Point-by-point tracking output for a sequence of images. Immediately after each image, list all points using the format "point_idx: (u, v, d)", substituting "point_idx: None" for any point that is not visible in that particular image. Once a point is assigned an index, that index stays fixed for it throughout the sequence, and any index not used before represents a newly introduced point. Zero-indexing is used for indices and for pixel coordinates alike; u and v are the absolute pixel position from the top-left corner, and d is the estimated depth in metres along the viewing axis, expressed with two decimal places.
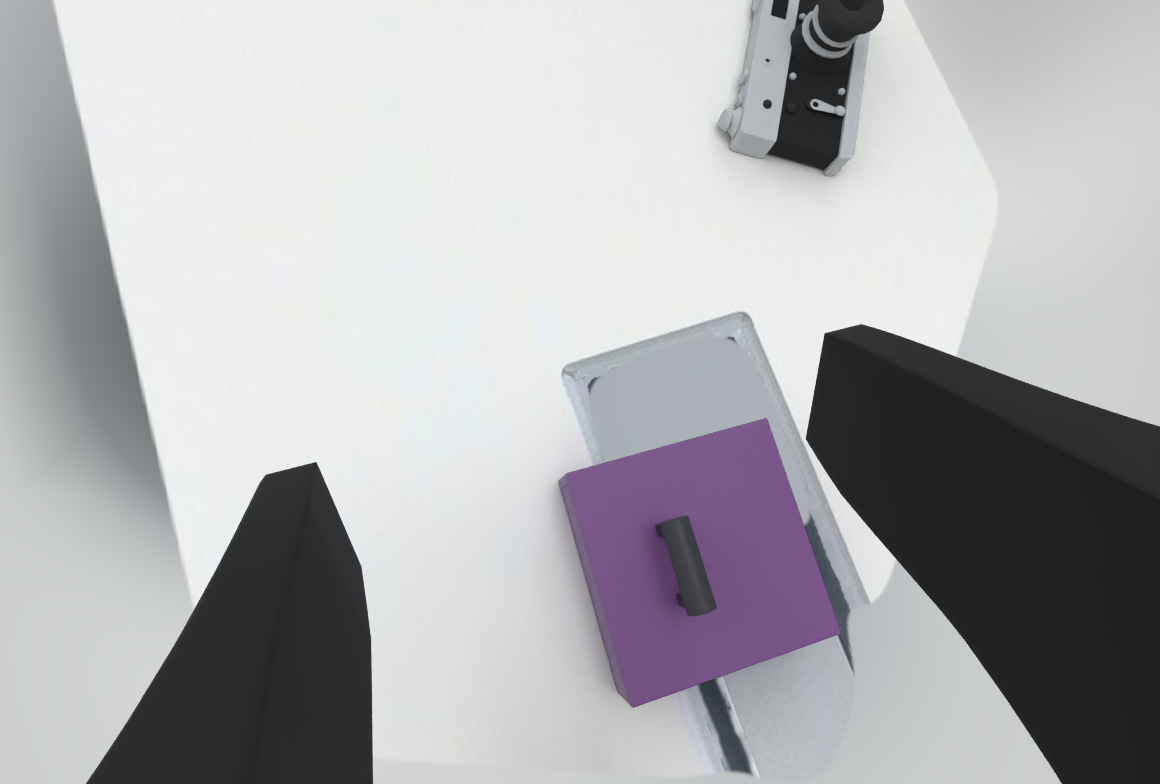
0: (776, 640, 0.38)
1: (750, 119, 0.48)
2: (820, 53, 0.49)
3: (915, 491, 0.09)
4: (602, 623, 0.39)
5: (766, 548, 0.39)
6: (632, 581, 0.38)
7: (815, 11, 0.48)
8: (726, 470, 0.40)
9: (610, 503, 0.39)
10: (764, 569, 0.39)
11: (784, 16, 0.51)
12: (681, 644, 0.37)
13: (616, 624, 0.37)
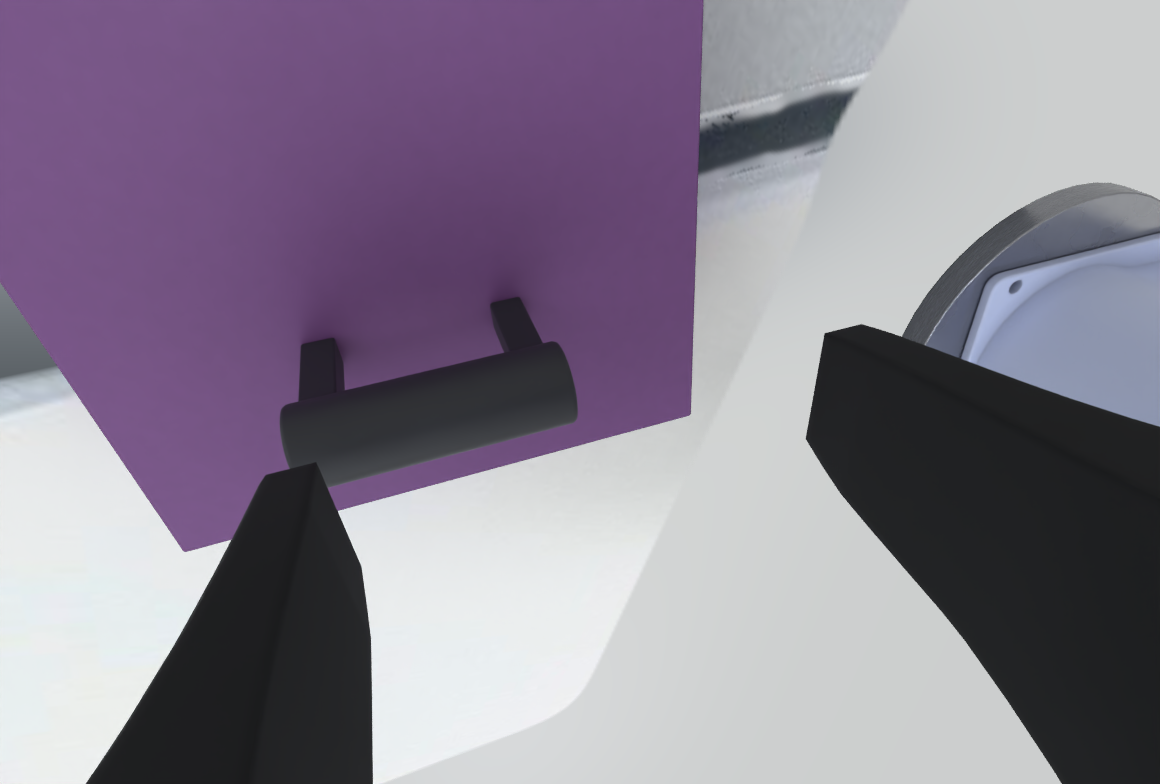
0: (663, 63, 0.13)
1: None
2: None
3: (915, 491, 0.09)
4: None
5: (385, 30, 0.11)
6: None
7: None
8: (82, 134, 0.11)
9: (255, 467, 0.15)
10: (456, 55, 0.12)
11: None
12: (606, 321, 0.16)
13: (537, 445, 0.17)
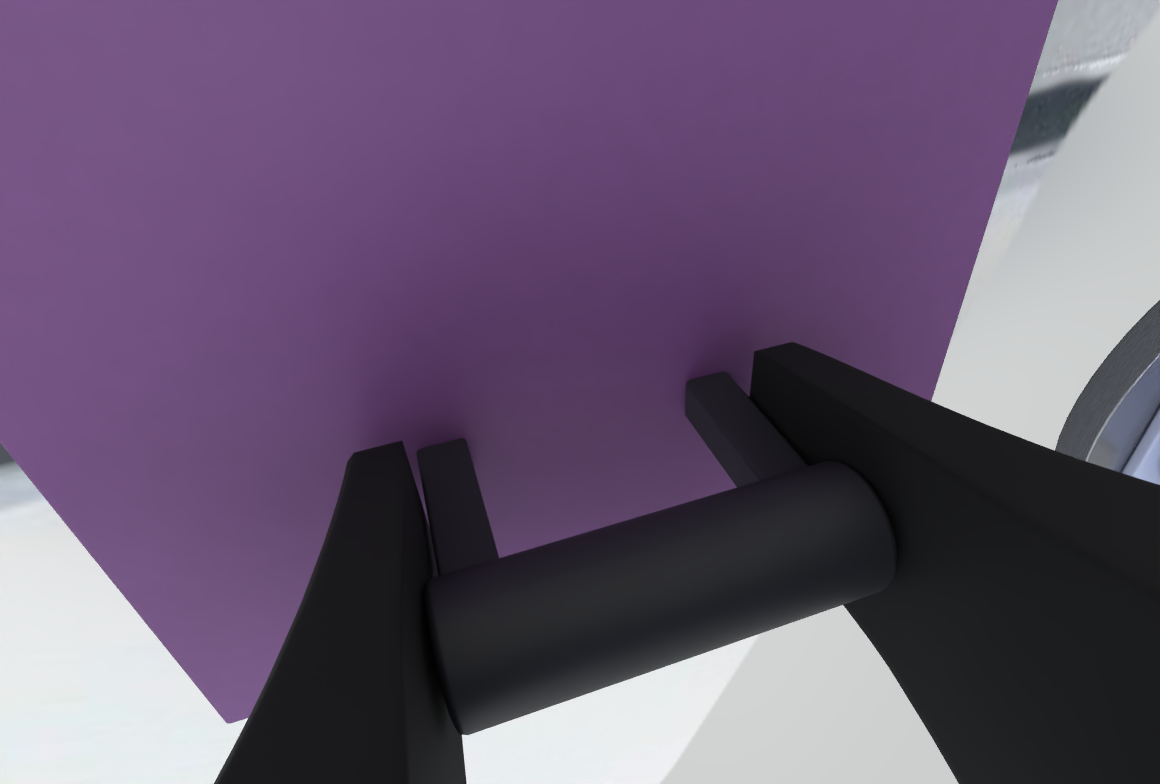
0: (1001, 23, 0.08)
1: None
2: None
3: None
4: None
5: None
6: None
7: None
8: (92, 130, 0.06)
9: None
10: (713, 1, 0.07)
11: None
12: None
13: None
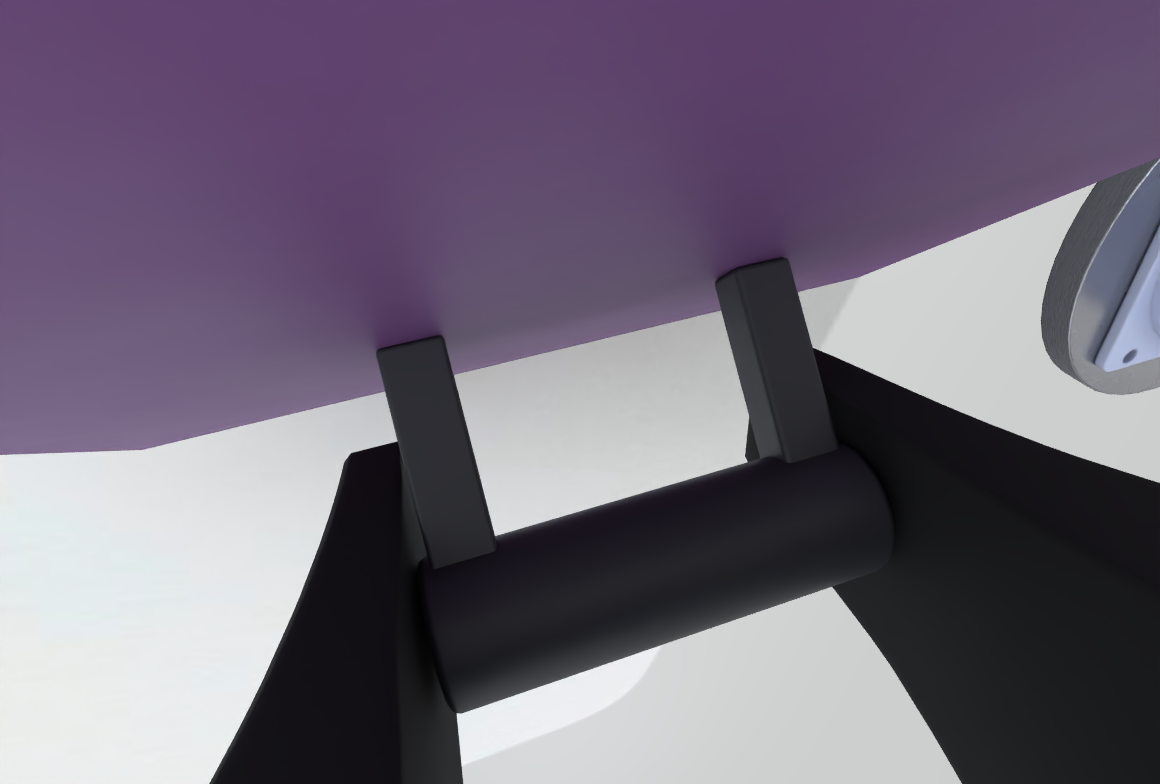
0: None
1: None
2: None
3: None
4: None
5: None
6: (572, 334, 0.10)
7: None
8: None
9: (258, 408, 0.09)
10: None
11: None
12: (873, 249, 0.09)
13: (660, 323, 0.12)
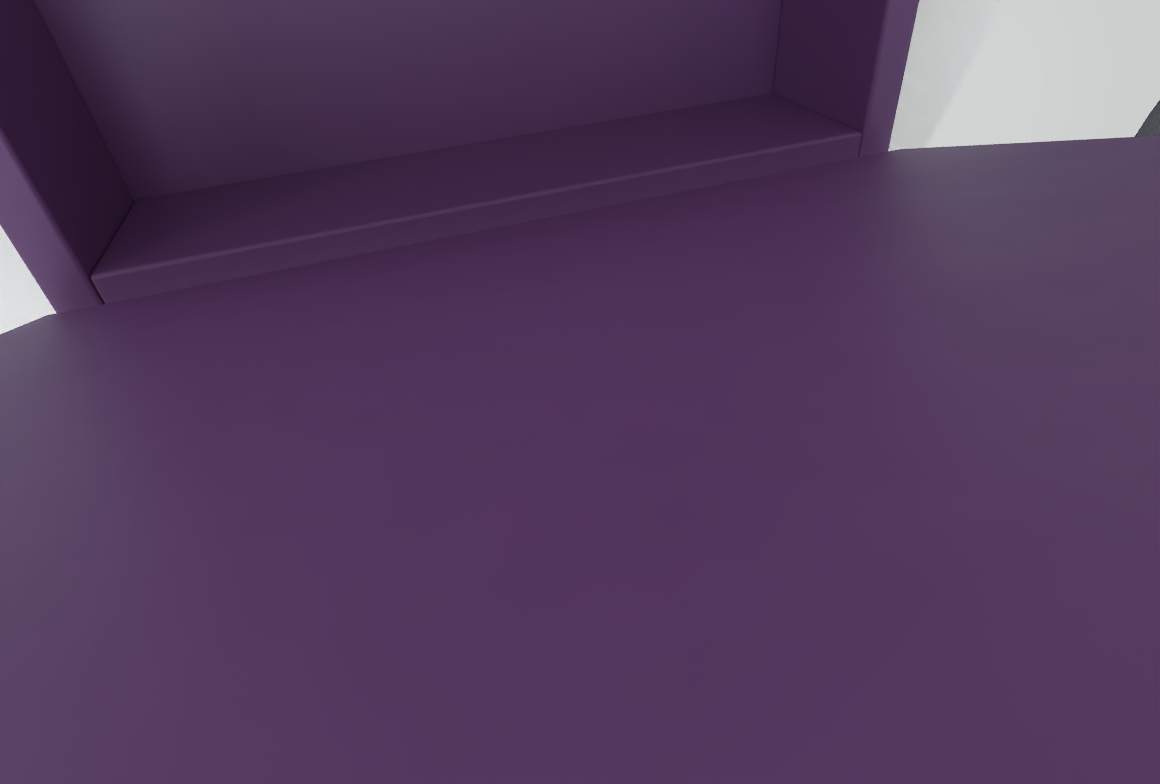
0: None
1: None
2: None
3: None
4: None
5: None
6: None
7: None
8: None
9: None
10: None
11: None
12: None
13: None
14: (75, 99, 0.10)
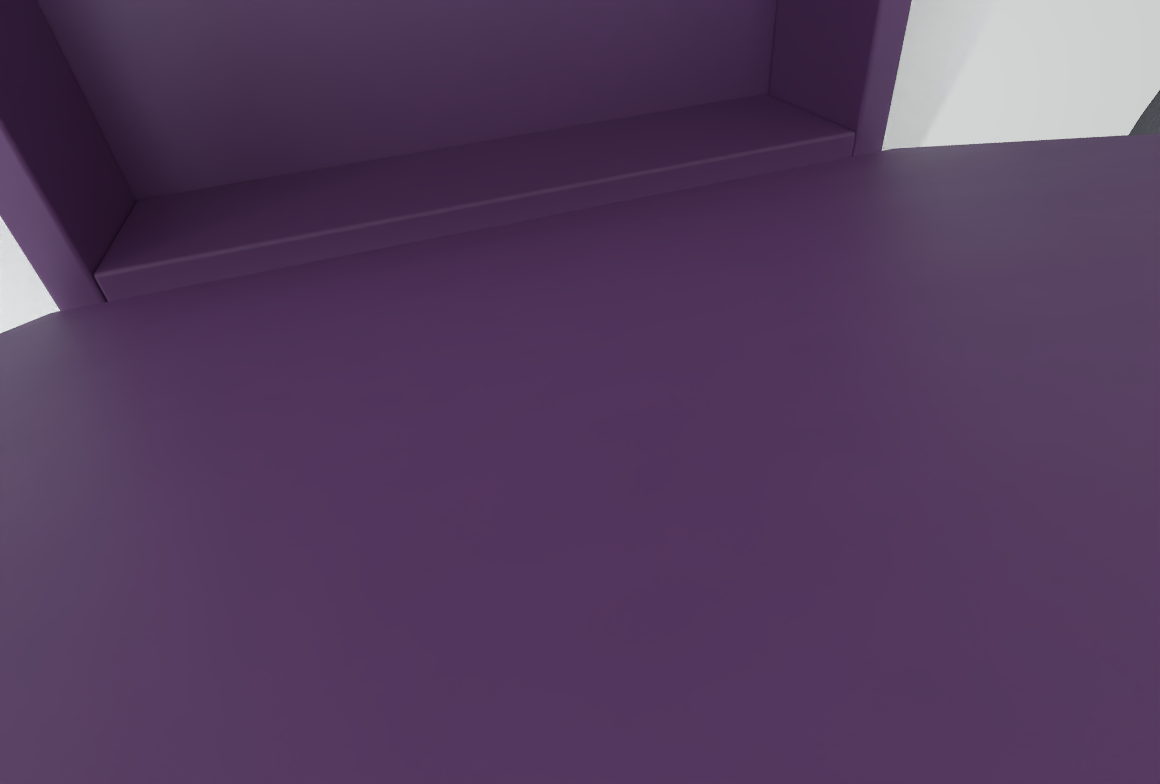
0: None
1: None
2: None
3: None
4: None
5: None
6: None
7: None
8: None
9: None
10: None
11: None
12: None
13: None
14: (78, 100, 0.10)
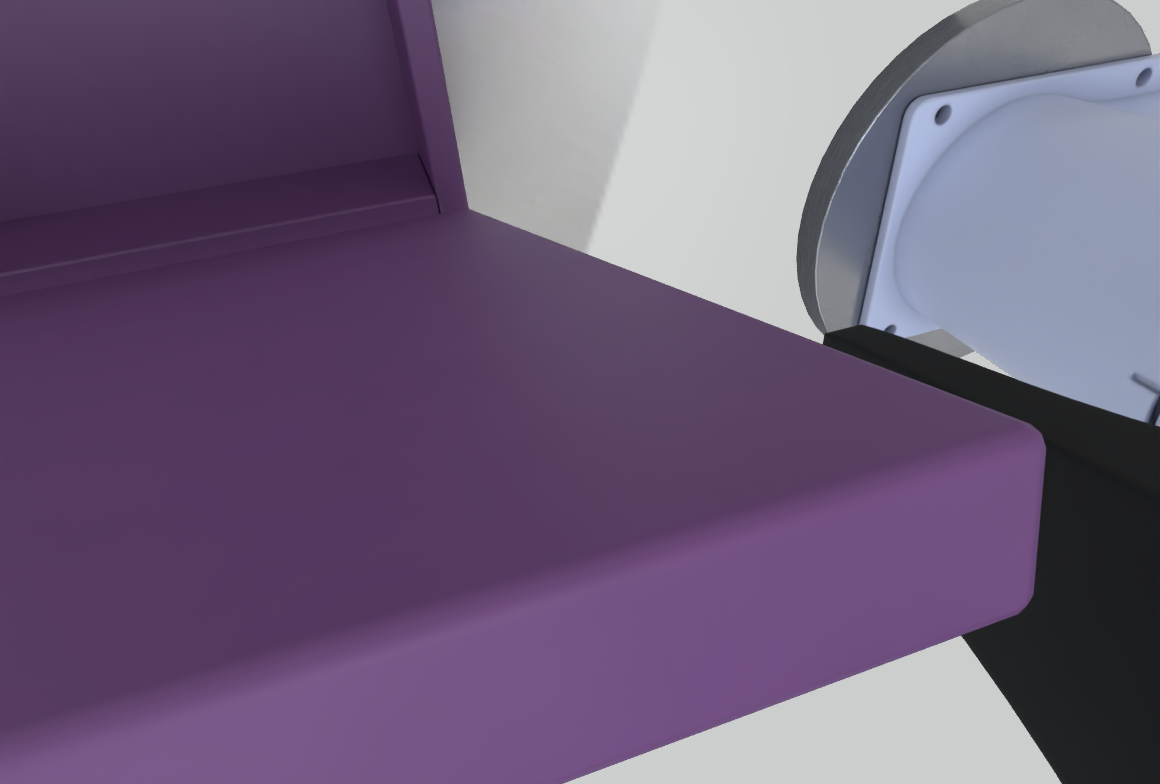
0: None
1: None
2: None
3: None
4: None
5: None
6: None
7: None
8: None
9: None
10: None
11: None
12: None
13: None
14: None
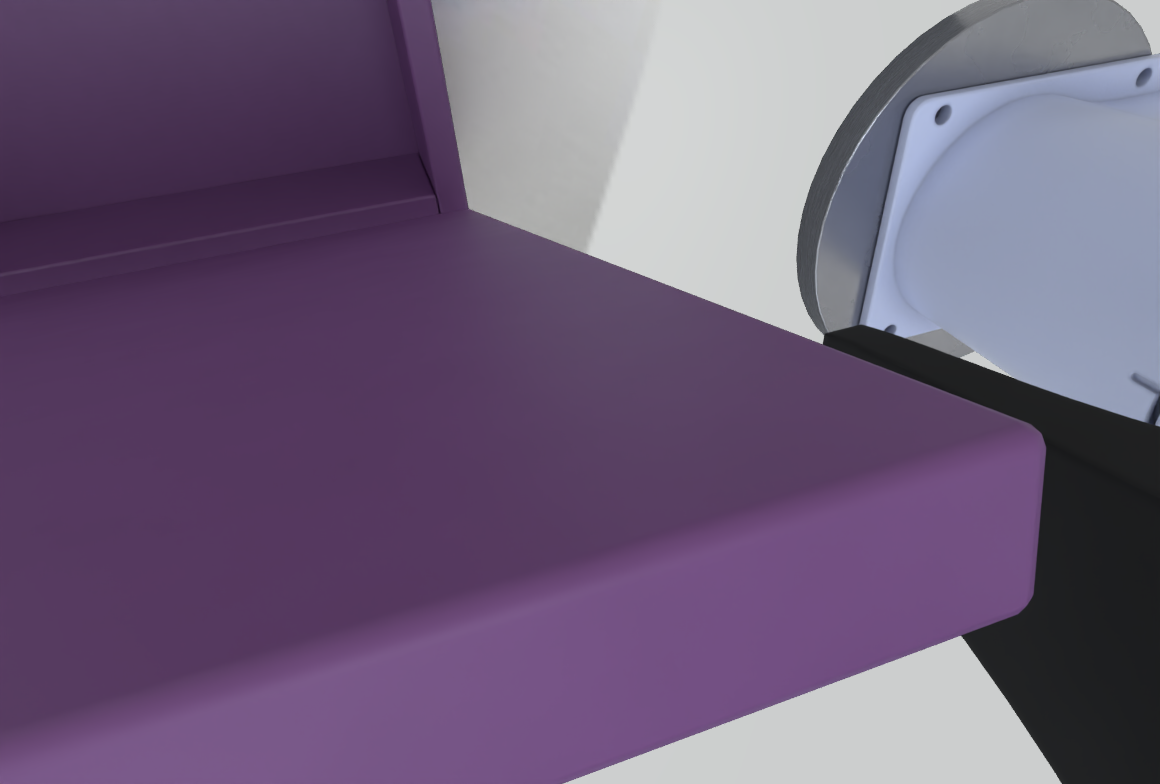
0: None
1: None
2: None
3: None
4: None
5: None
6: None
7: None
8: None
9: None
10: None
11: None
12: None
13: None
14: None
